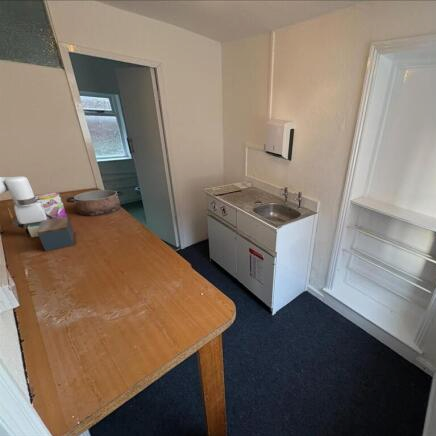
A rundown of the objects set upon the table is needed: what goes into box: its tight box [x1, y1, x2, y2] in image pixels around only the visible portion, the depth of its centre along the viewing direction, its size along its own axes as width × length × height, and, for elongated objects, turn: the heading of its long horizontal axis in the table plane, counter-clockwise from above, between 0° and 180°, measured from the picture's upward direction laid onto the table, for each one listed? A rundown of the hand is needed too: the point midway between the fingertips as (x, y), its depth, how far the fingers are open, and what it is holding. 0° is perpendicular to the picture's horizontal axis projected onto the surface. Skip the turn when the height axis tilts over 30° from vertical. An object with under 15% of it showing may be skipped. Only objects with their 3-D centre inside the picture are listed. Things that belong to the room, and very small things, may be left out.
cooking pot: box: [66, 189, 125, 217], centre depth 155 cm, size 30×22×11 cm
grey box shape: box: [37, 215, 75, 252], centre depth 116 cm, size 10×16×10 cm, turn 39°
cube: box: [28, 222, 41, 238], centre depth 123 cm, size 6×6×6 cm
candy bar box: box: [35, 192, 68, 220], centre depth 136 cm, size 11×5×16 cm, turn 154°
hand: (39, 232), depth 124 cm, fingers closed on cube, 5 cm apart
